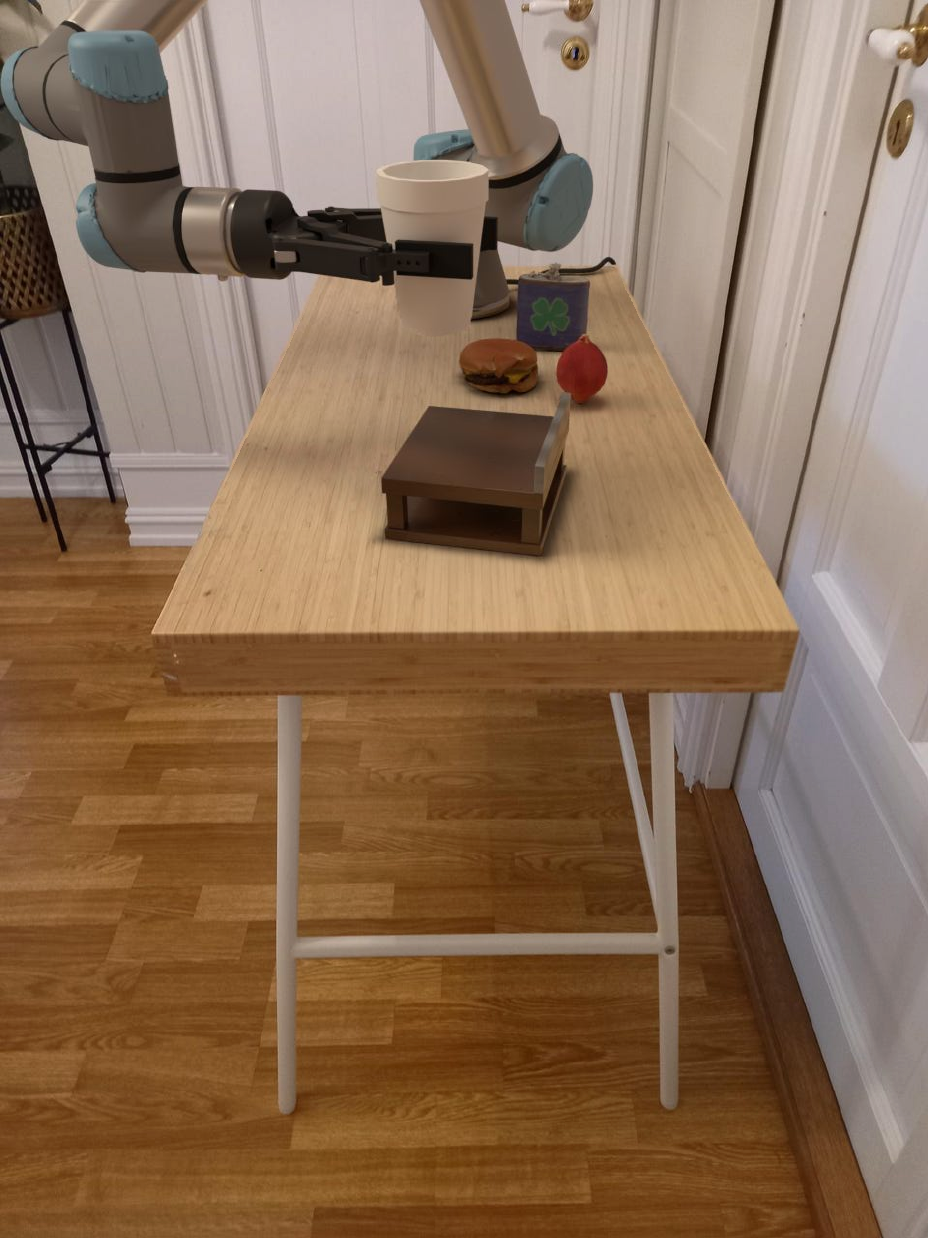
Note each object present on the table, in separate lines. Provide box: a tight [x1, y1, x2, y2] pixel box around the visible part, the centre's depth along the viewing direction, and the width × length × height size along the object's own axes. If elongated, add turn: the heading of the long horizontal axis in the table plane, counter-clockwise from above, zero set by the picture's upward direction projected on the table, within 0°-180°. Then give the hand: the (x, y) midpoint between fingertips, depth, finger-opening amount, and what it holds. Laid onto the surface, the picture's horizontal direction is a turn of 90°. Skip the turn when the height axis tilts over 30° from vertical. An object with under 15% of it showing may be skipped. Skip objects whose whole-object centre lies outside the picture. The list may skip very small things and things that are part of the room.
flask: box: [515, 262, 591, 352], centre depth 120 cm, size 9×3×11 cm, turn 77°
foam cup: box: [375, 160, 489, 337], centre depth 82 cm, size 10×9×13 cm
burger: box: [458, 337, 539, 395], centre depth 112 cm, size 10×9×5 cm
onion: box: [555, 333, 609, 404], centre depth 105 cm, size 6×6×8 cm
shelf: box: [380, 391, 572, 557], centre depth 86 cm, size 16×14×8 cm
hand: (485, 246), depth 81 cm, fingers closed on foam cup, 9 cm apart
